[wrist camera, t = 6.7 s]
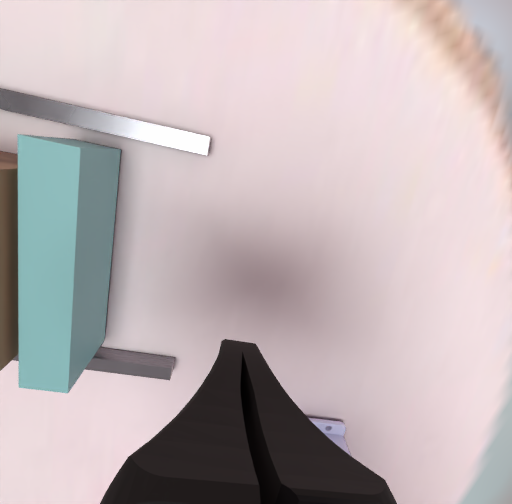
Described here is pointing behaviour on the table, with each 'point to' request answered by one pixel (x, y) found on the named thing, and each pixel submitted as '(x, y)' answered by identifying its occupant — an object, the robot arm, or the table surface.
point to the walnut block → (8, 258)
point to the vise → (131, 129)
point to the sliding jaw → (63, 256)
